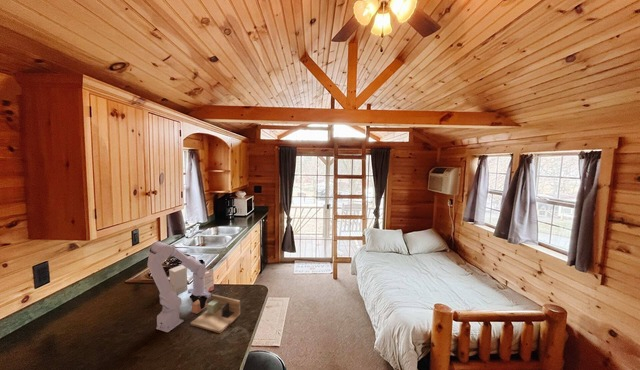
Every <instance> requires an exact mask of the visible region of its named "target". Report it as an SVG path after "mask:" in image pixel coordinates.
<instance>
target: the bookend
mask: <svg viewBox="0 0 640 370" xmlns="http://www.w3.org/2000/svg"><path fill="white" fill-rule="evenodd" d="M233 313H234V312H232V311H229V303H226V304H225V305H224V306H223V307H221V317H225V318H229V317H230V316H231V315H232V314H233Z"/></svg>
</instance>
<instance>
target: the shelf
mask: <svg viewBox="0 0 640 370" xmlns="http://www.w3.org/2000/svg"><path fill="white" fill-rule="evenodd" d="M210 298H211V301H212V300H214V299H215V300H220V309H219V310H218V311H217V312H216V313H214V314H210V313H207V310H205V311H204V312H203V313H201V314H200V315H199V316H198V317H196V318H195V319H194V320H192V321H191V322H190V326H193V327H198V328H200V329H204V330H206V331H207V330H208V331H210V332H215V333H217V334H221V333H223V331H224V330H226V329H227V328H228V327H229V326H230V325H231V324H232V323H233V322H234V321H235V320H237V318H238V317H240V315H241V300H239V299H235V298H231V297H226V296H222V295H219V294H211V297H210ZM226 303H229V311H232V312H234V313H233V314H232V315H231V316H230V317H229V318H225V317H221V307H223V306H224V305H225V304H226Z"/></svg>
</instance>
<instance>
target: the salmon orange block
mask: <svg viewBox="0 0 640 370" xmlns="http://www.w3.org/2000/svg"><path fill="white" fill-rule="evenodd" d="M207 304H208V299H207V300H206V303H205V307H204V308H203V309H201V307H200V301H199V299H198V300H196V301H195V302H191V313H194V314H199V313H201V312H202V311H203V310H205V309H207Z"/></svg>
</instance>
